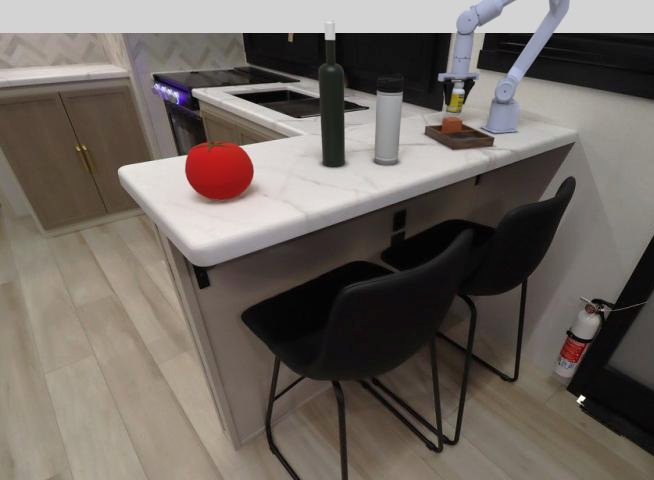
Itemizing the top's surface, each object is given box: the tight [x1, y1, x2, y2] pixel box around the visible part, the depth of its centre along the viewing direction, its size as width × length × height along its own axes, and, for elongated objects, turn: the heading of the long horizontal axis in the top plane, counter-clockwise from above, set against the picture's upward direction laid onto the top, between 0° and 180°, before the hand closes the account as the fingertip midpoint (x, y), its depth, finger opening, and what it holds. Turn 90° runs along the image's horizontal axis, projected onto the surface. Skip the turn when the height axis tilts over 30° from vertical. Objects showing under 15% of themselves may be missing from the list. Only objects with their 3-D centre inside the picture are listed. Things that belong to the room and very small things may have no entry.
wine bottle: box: [318, 19, 346, 168], centre depth 89 cm, size 6×6×30 cm
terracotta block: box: [441, 116, 464, 133], centre depth 120 cm, size 4×4×4 cm
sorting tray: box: [424, 122, 495, 151], centre depth 118 cm, size 14×18×2 cm
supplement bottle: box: [445, 80, 465, 116], centre depth 129 cm, size 5×5×10 cm
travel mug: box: [373, 73, 405, 166], centre depth 95 cm, size 6×7×20 cm
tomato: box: [184, 140, 255, 201], centre depth 77 cm, size 12×13×11 cm
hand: (454, 104), depth 130 cm, fingers closed on supplement bottle, 5 cm apart
